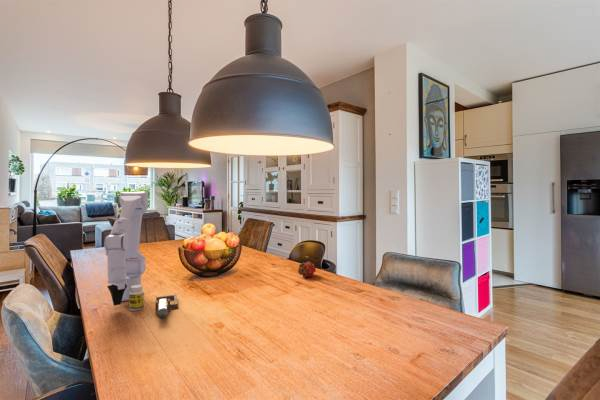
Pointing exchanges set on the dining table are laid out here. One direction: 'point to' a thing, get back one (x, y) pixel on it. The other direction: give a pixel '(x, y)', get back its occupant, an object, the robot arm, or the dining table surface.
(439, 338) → the dining table surface
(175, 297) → the mount
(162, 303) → the lock pin
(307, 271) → the dragon fruit
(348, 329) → the dining table surface
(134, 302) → the supplement bottle
